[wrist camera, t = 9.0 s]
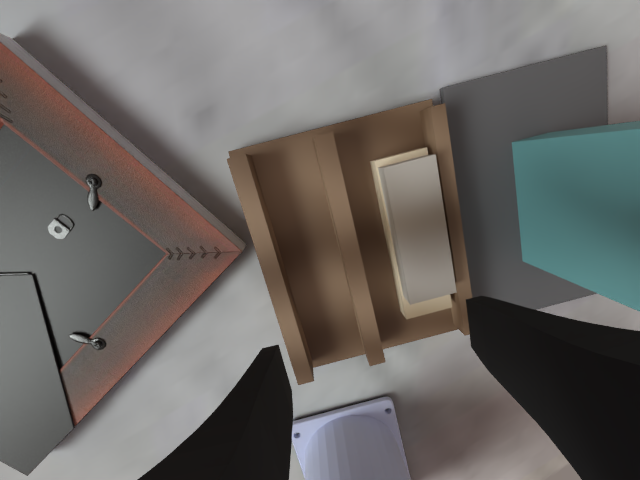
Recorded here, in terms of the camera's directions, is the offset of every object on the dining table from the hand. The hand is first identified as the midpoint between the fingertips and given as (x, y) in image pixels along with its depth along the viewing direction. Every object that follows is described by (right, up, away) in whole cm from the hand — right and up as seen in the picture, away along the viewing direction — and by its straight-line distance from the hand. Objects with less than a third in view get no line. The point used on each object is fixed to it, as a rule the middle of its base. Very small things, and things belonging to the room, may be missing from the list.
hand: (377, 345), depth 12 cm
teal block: (+12, +7, +9) cm, 16 cm away
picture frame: (-20, +2, +9) cm, 22 cm away
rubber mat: (+12, +7, +9) cm, 16 cm away
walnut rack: (0, +4, +9) cm, 10 cm away
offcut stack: (+4, +4, +8) cm, 10 cm away
